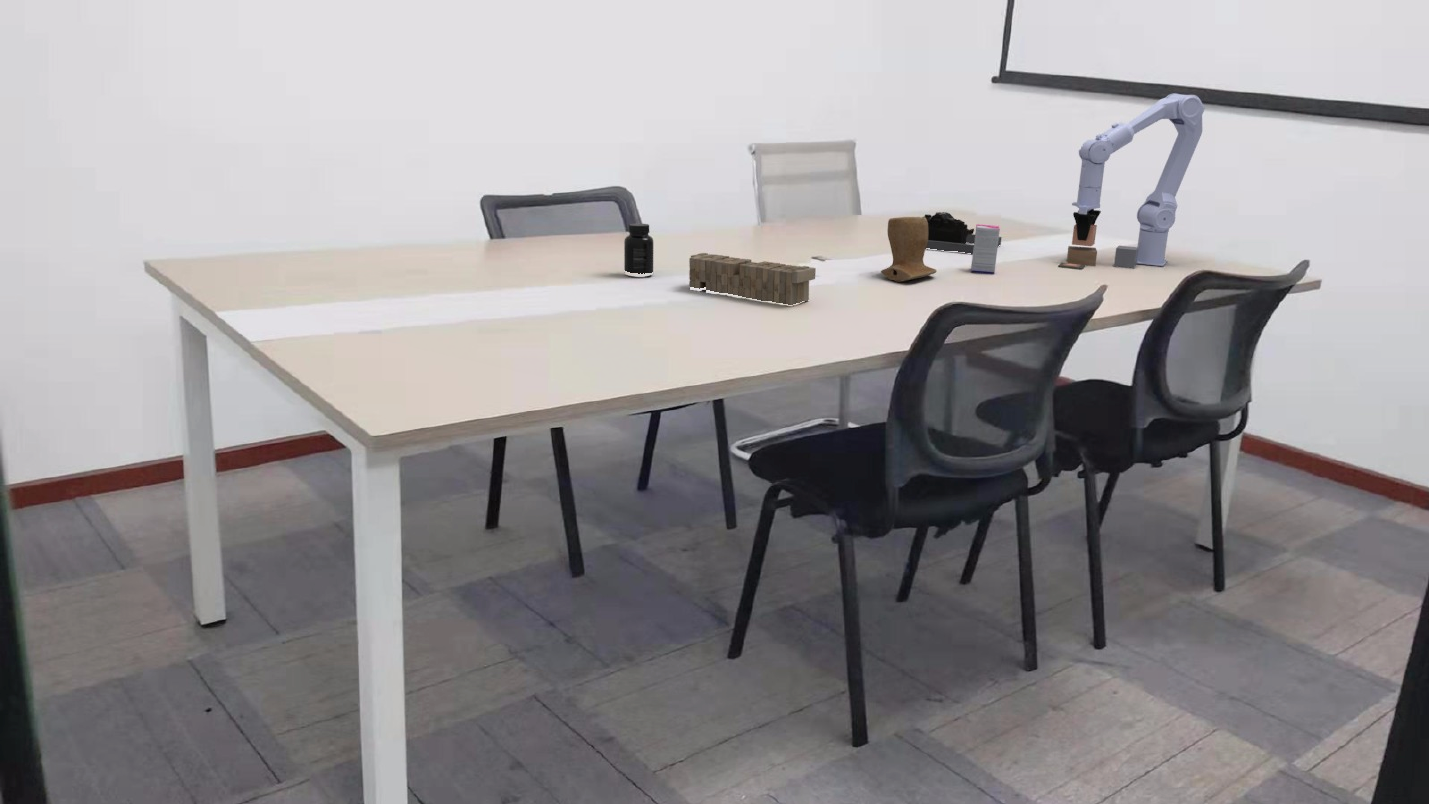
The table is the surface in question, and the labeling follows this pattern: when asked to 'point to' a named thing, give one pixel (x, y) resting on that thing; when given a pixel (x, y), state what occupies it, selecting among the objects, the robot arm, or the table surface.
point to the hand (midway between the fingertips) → (1083, 238)
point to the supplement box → (985, 249)
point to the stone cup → (907, 248)
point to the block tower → (751, 278)
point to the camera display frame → (955, 245)
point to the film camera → (947, 228)
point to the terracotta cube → (1090, 238)
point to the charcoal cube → (1126, 257)
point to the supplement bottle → (638, 249)
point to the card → (1071, 266)
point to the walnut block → (1082, 255)
